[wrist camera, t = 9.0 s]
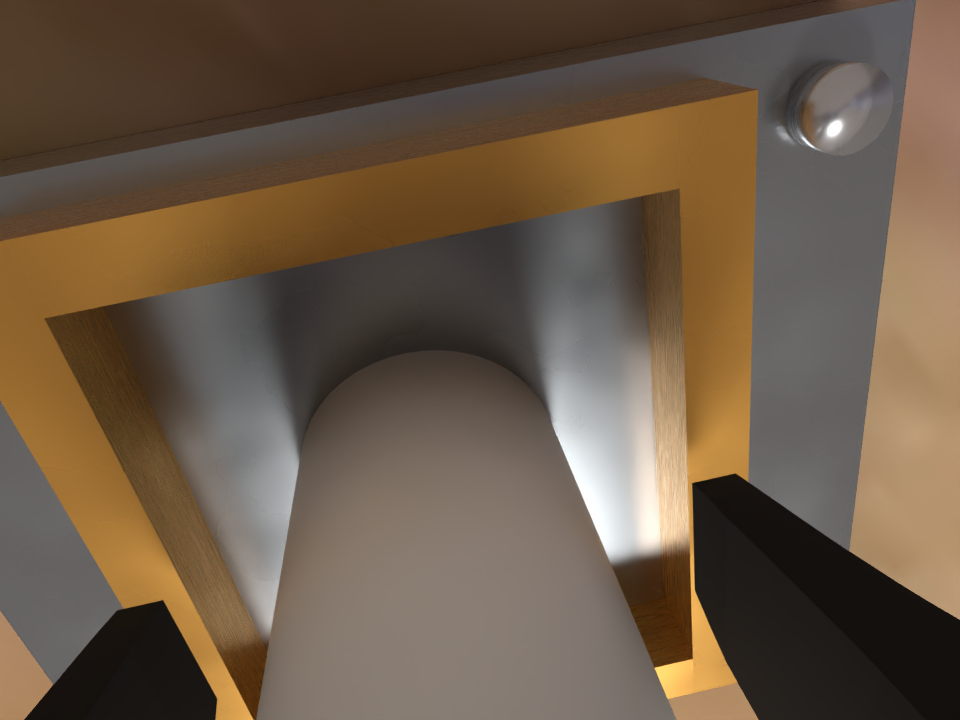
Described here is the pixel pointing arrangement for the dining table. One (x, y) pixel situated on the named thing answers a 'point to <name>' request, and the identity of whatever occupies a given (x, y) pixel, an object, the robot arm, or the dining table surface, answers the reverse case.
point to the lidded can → (447, 562)
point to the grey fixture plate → (449, 312)
